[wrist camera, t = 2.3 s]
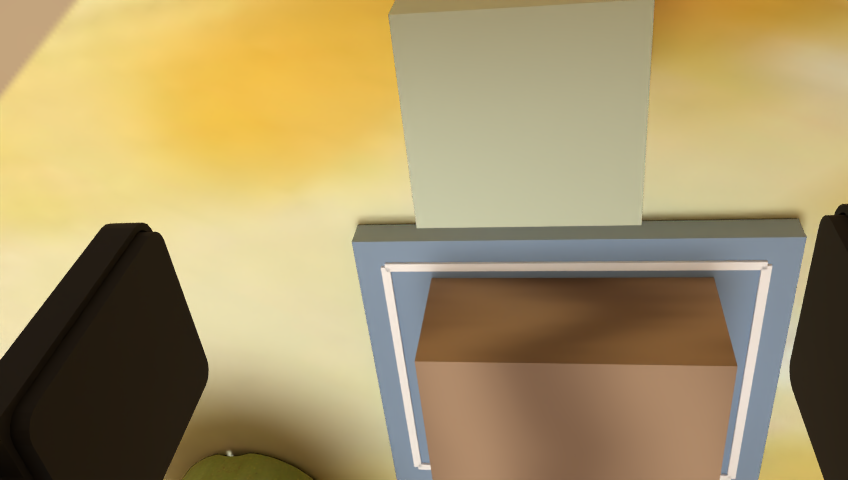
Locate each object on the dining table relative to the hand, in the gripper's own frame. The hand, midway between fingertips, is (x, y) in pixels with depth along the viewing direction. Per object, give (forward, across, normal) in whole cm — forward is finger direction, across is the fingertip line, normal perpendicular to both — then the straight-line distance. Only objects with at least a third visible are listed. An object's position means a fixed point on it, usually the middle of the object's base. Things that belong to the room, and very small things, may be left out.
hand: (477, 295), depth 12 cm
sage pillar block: (+13, -1, 0) cm, 13 cm away
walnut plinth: (+13, -2, +14) cm, 19 cm away
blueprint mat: (+13, -2, +14) cm, 19 cm away
